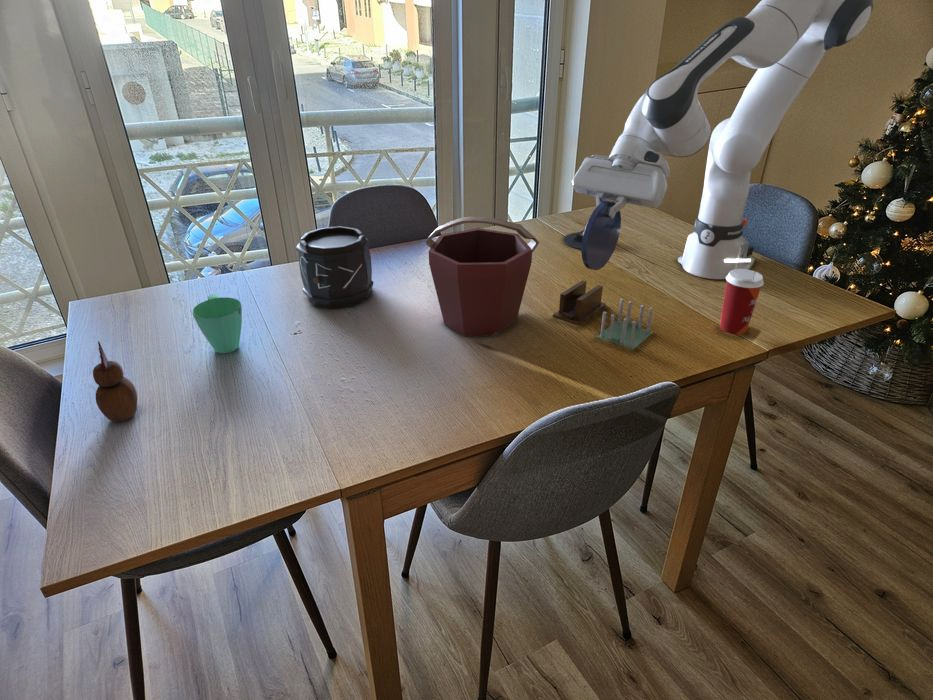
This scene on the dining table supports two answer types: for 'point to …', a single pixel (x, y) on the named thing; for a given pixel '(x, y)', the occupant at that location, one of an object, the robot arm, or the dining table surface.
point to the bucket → (480, 274)
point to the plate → (600, 237)
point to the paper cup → (740, 300)
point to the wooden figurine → (114, 390)
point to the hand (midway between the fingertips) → (603, 215)
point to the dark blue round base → (574, 240)
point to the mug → (220, 322)
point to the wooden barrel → (335, 266)
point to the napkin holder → (579, 303)
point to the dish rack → (626, 328)
